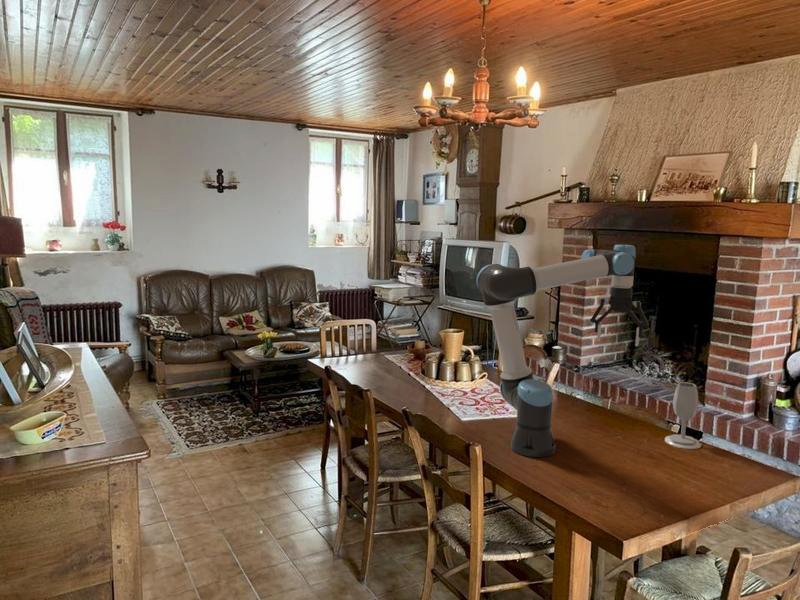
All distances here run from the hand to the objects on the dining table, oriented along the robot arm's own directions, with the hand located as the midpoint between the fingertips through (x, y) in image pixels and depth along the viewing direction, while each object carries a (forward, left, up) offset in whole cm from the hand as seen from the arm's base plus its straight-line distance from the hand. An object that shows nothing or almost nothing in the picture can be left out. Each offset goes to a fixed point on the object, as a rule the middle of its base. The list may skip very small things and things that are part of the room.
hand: (617, 343), depth 223 cm
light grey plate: (+16, -19, -34) cm, 42 cm away
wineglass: (+16, -19, -33) cm, 41 cm away
